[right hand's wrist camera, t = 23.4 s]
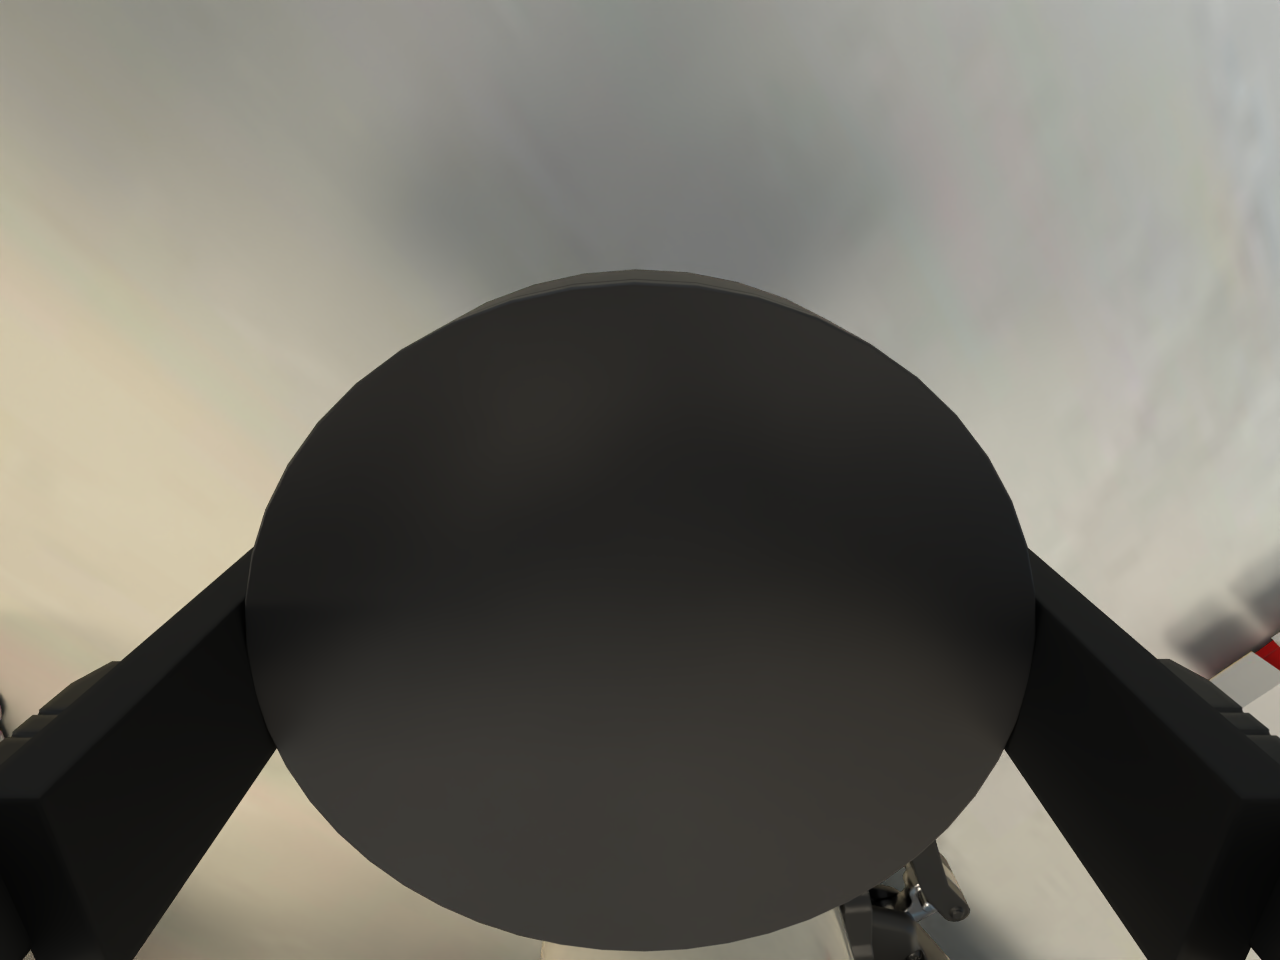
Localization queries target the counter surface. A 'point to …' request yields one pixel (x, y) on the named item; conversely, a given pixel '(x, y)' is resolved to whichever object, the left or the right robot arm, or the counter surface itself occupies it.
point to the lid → (640, 614)
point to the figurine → (0, 734)
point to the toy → (1256, 684)
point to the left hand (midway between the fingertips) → (621, 736)
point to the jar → (740, 946)
